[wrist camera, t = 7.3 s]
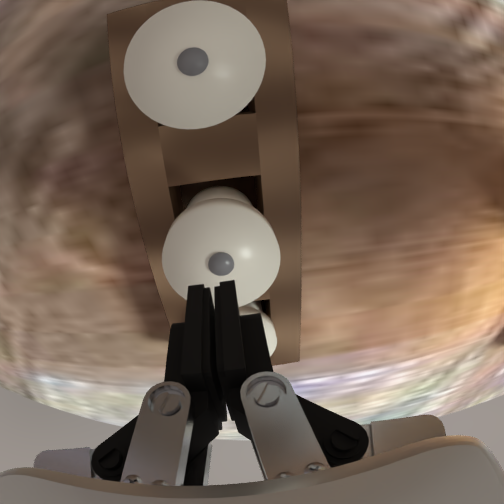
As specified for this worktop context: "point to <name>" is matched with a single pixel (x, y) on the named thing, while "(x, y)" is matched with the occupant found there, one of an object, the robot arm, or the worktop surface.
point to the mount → (220, 160)
